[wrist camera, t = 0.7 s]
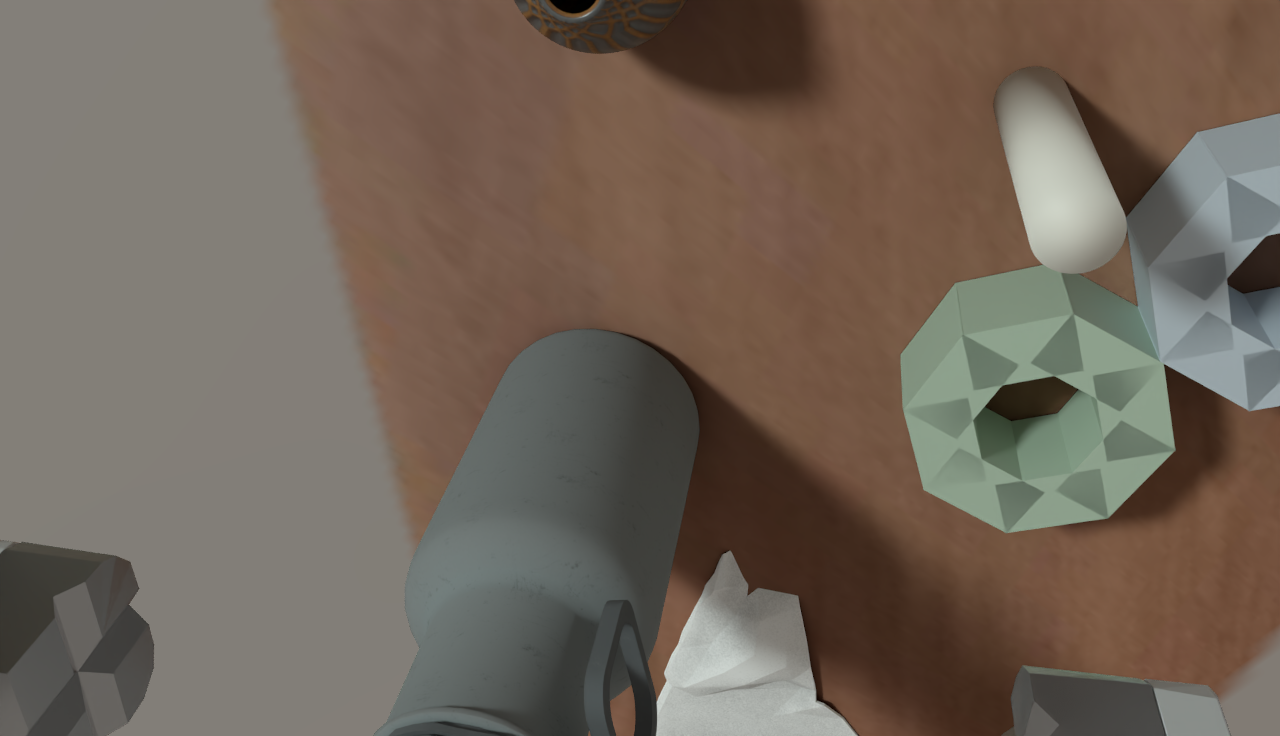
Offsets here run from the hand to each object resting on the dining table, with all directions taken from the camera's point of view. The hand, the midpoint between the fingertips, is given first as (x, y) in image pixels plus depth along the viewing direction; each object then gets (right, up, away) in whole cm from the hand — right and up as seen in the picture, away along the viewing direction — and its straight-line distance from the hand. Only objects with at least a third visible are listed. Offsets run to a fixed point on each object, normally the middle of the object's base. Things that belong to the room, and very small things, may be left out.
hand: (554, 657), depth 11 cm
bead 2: (+26, +8, +36) cm, 45 cm away
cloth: (+8, -17, +56) cm, 59 cm away
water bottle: (-1, +1, +46) cm, 46 cm away
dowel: (+16, +13, +35) cm, 41 cm away
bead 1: (+18, +2, +41) cm, 45 cm away
